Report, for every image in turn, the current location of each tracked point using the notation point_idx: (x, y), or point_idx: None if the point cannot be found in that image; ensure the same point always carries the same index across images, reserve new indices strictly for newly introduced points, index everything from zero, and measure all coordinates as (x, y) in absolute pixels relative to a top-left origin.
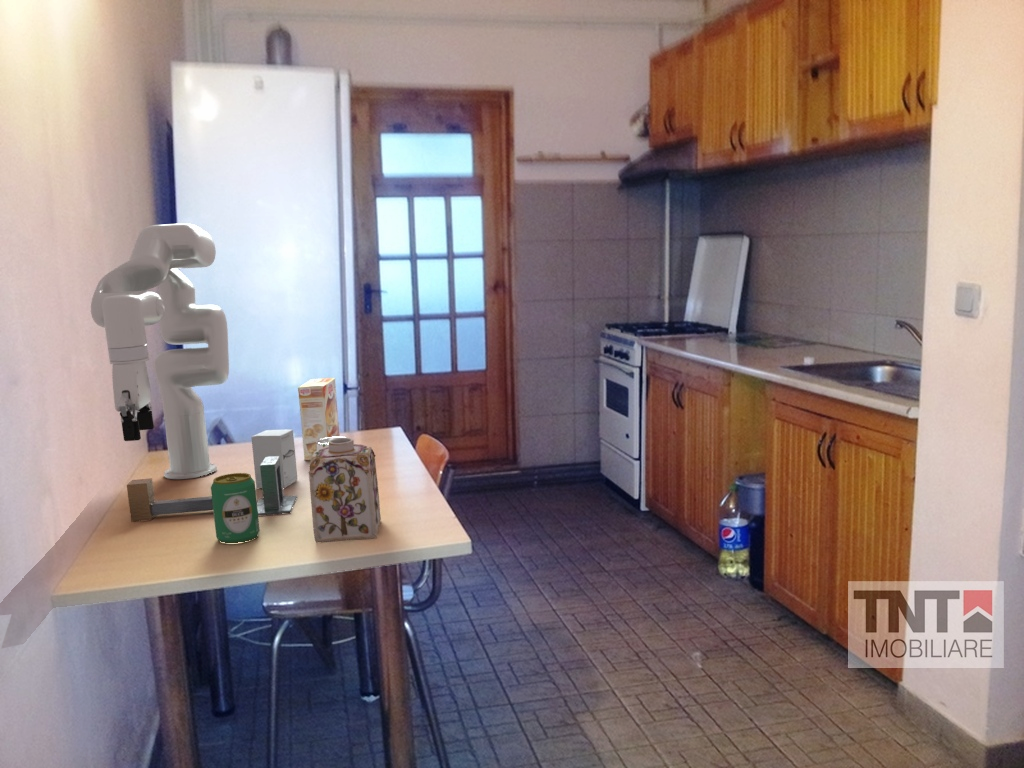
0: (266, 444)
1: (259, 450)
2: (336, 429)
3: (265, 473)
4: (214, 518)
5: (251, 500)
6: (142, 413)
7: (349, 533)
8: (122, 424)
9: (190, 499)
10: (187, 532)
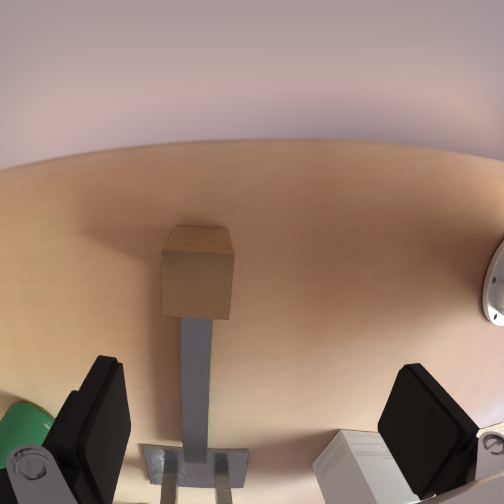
0: None
1: (357, 493)
2: None
3: None
4: (4, 423)
5: None
6: (436, 461)
7: None
8: (60, 432)
9: (194, 376)
10: (68, 359)
